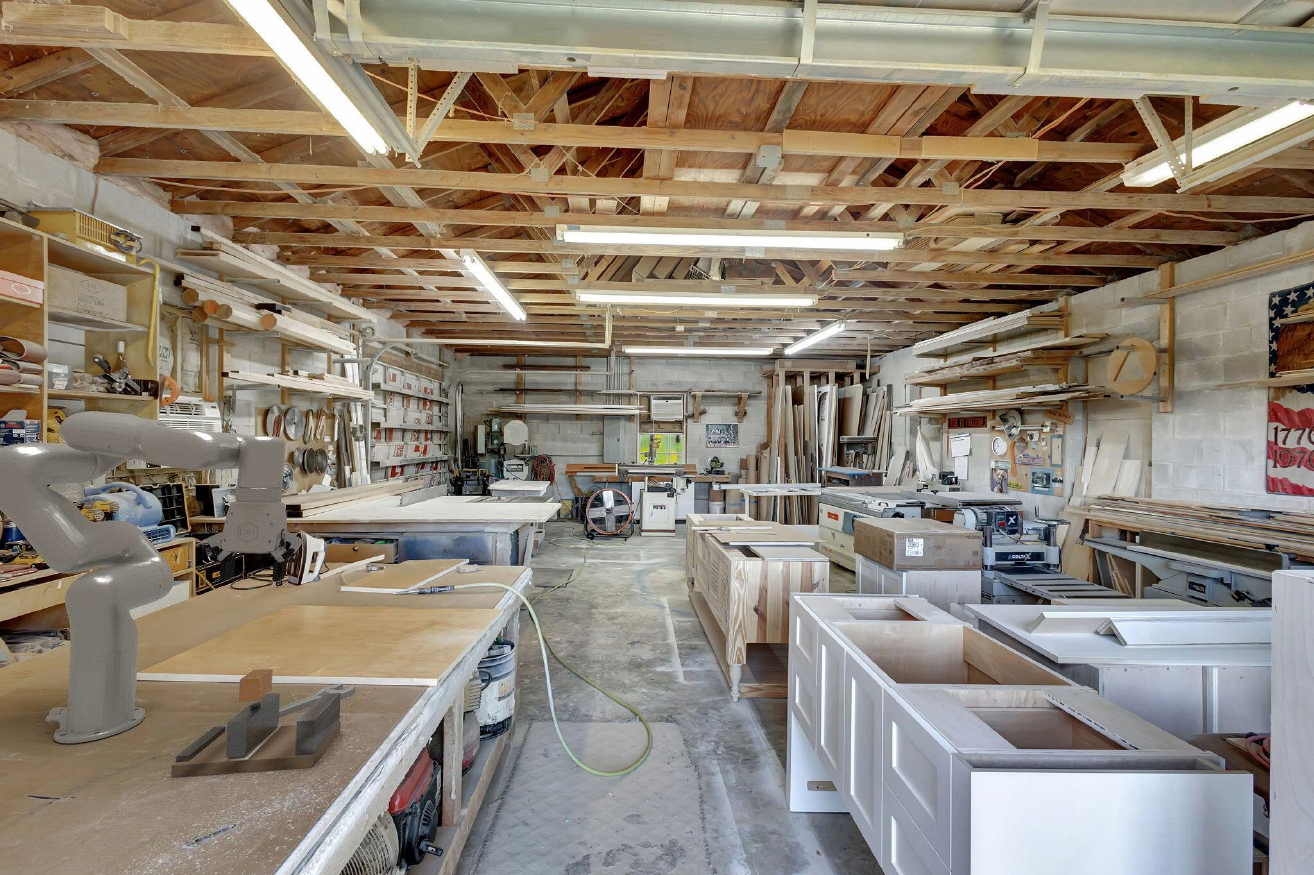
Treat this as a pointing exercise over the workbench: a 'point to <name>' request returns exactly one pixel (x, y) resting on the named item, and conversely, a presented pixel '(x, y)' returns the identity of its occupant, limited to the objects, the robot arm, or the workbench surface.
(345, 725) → the workbench surface
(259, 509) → the robot arm
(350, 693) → the adjustable wrench
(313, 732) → the bench vise
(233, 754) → the sliding jaw
